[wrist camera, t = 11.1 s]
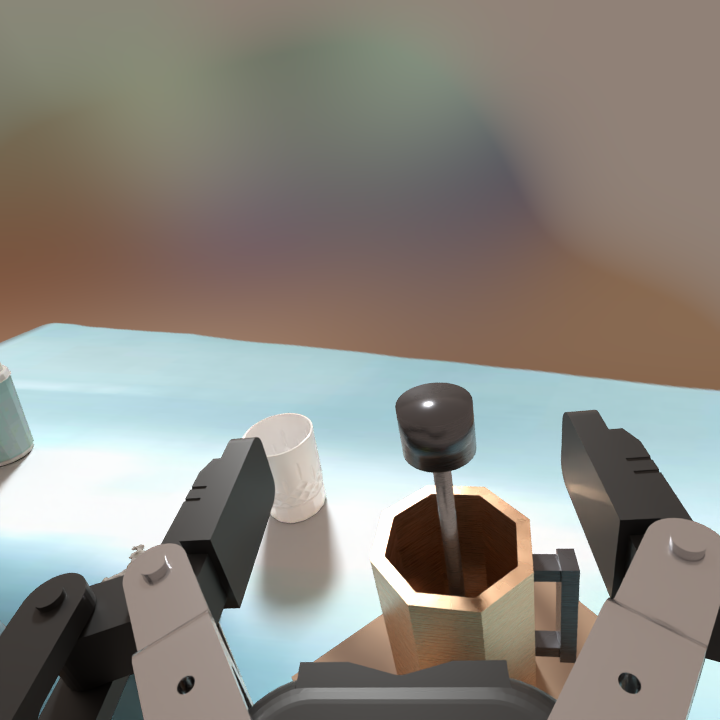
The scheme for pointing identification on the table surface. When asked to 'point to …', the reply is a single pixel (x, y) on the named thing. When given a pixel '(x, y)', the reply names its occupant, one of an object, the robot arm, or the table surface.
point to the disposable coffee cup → (12, 422)
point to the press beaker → (470, 586)
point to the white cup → (292, 465)
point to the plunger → (440, 454)
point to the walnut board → (550, 673)
